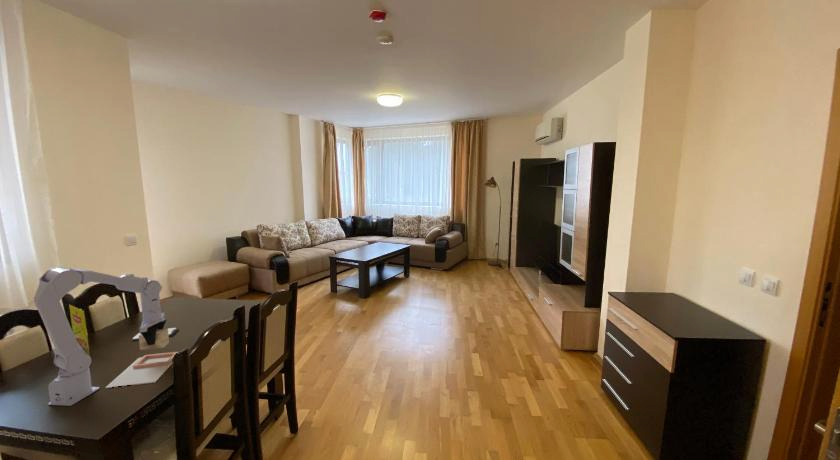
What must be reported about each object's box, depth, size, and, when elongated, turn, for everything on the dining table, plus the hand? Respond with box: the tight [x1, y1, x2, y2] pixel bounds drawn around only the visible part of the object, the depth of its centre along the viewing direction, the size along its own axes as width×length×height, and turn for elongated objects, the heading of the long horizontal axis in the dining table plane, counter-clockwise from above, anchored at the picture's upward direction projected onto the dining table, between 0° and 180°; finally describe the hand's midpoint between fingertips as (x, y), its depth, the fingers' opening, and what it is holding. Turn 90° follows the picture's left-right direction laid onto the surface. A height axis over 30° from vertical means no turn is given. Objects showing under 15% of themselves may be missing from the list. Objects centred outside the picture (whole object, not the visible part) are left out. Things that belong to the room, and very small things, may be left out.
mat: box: [105, 356, 173, 389], centre depth 128 cm, size 21×15×1 cm
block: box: [138, 328, 170, 351], centre depth 132 cm, size 8×4×6 cm, turn 105°
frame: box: [133, 351, 179, 369], centre depth 133 cm, size 12×8×1 cm
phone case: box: [131, 327, 179, 342], centre depth 157 cm, size 9×2×16 cm
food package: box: [68, 304, 91, 357], centre depth 139 cm, size 15×1×20 cm, turn 62°
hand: (154, 341), depth 132 cm, fingers closed on block, 4 cm apart
